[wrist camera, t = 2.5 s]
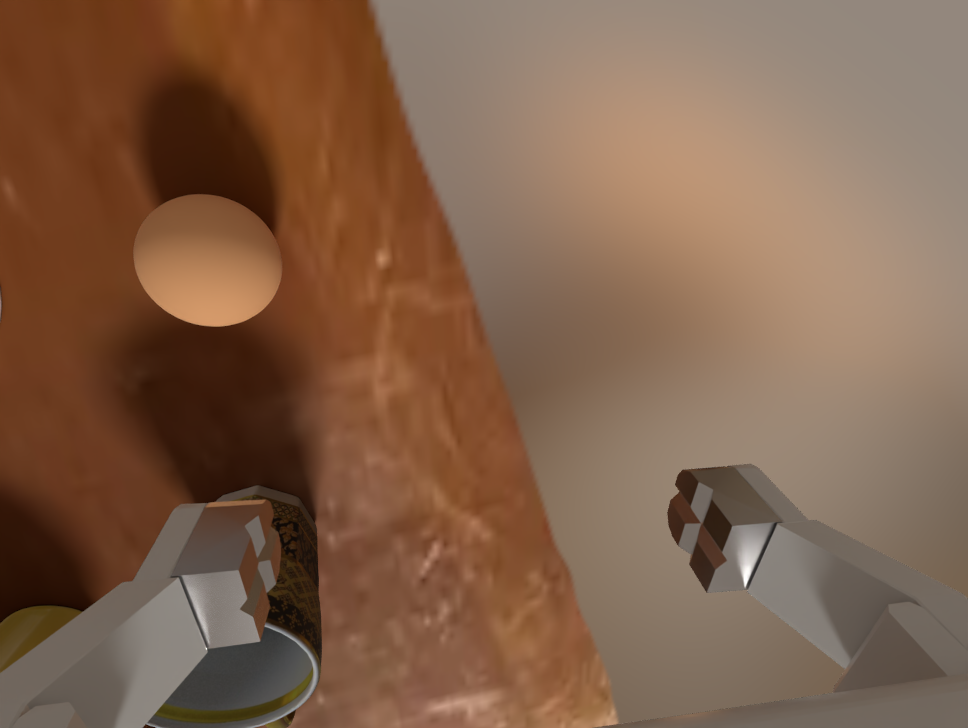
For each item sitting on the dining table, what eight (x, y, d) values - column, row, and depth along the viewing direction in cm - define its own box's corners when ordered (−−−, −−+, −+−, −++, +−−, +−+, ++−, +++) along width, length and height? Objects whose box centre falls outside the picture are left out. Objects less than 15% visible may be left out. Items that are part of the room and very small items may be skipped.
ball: (186, 301, 25) (134, 352, 20) (150, 185, 22) (79, 211, 17) (301, 296, 25) (278, 344, 20) (280, 183, 23) (248, 207, 18)
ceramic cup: (146, 491, 30) (42, 654, 21) (303, 446, 30) (264, 589, 21) (247, 613, 36) (200, 776, 28) (376, 575, 36) (369, 726, 28)
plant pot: (-61, 588, 31) (-234, 775, 22) (122, 581, 33) (26, 749, 24) (-5, 682, 36) (-131, 864, 27) (151, 670, 38) (79, 837, 29)
